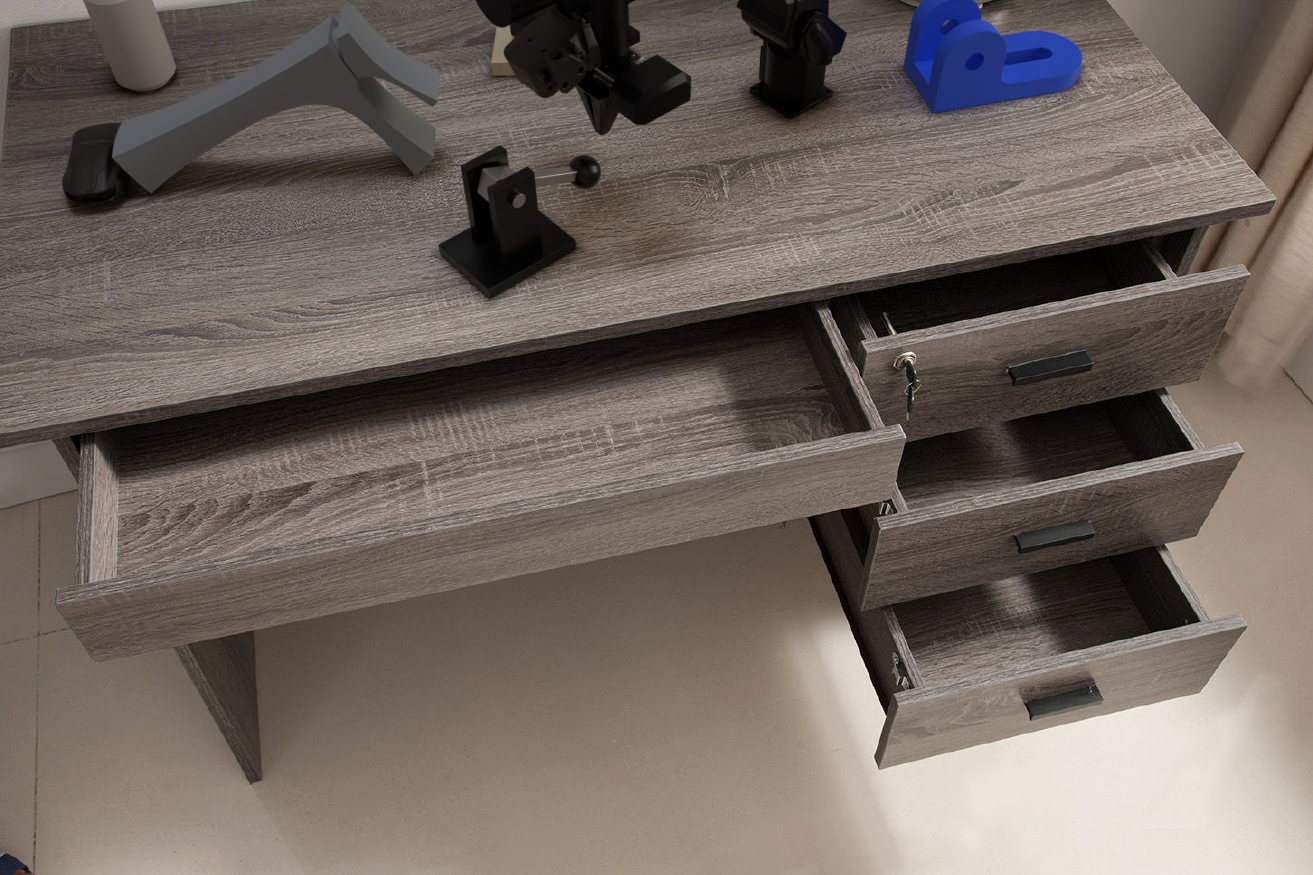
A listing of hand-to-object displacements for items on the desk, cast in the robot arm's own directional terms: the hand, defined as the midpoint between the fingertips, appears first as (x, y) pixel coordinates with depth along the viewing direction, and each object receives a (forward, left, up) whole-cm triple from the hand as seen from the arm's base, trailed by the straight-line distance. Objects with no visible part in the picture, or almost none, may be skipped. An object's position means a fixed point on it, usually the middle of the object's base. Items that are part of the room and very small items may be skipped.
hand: (602, 132), depth 114 cm
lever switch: (0, +12, -8) cm, 14 cm away
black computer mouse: (+36, +35, -8) cm, 51 cm away
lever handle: (0, +8, -3) cm, 8 cm away
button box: (+23, -10, -8) cm, 26 cm away
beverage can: (+48, +25, -8) cm, 55 cm away
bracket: (-12, -44, -8) cm, 46 cm away
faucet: (+24, +21, -8) cm, 33 cm away
